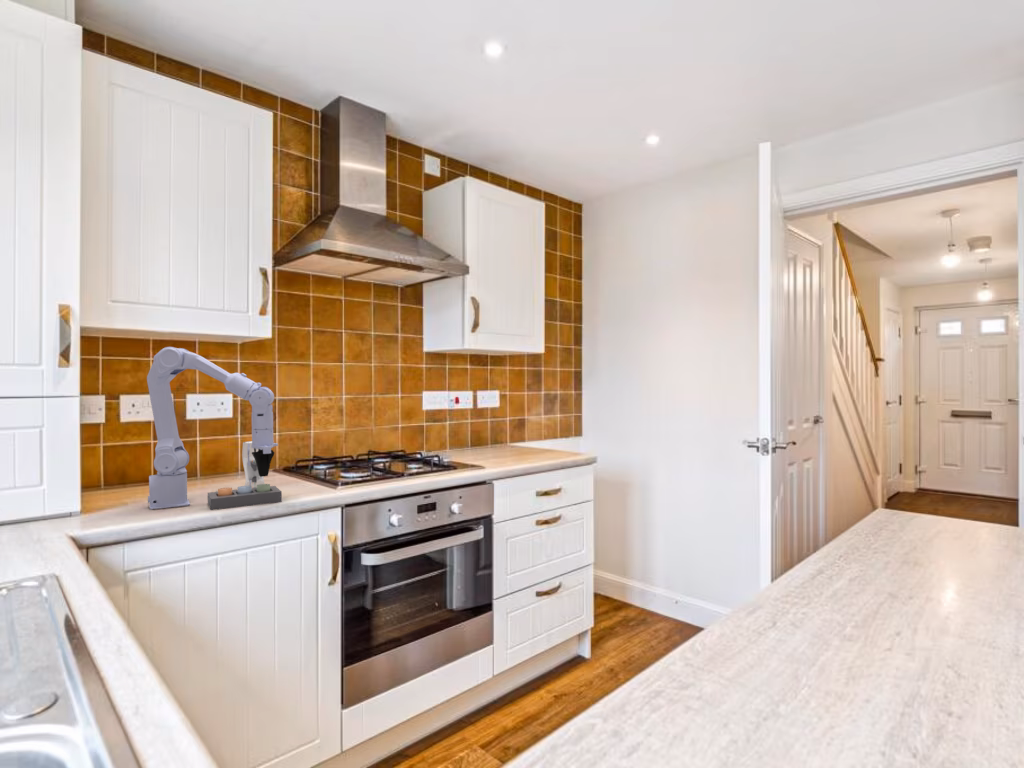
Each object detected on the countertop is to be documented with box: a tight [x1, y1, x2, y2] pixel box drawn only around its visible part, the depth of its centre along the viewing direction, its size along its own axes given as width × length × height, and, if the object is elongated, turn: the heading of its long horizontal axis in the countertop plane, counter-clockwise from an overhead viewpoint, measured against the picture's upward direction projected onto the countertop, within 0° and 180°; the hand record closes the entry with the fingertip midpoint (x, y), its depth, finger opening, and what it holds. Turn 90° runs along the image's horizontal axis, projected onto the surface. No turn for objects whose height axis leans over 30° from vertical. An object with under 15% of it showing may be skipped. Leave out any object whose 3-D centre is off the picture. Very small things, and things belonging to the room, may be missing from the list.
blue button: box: [237, 485, 252, 494], centre depth 166 cm, size 4×4×3 cm
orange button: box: [217, 487, 233, 496], centre depth 163 cm, size 4×4×3 cm
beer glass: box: [241, 440, 266, 488], centre depth 186 cm, size 7×7×15 cm
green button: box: [257, 483, 271, 492], centre depth 168 cm, size 4×4×3 cm
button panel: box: [207, 485, 283, 511], centre depth 166 cm, size 18×10×3 cm, turn 122°
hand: (263, 476), depth 168 cm, fingers closed
